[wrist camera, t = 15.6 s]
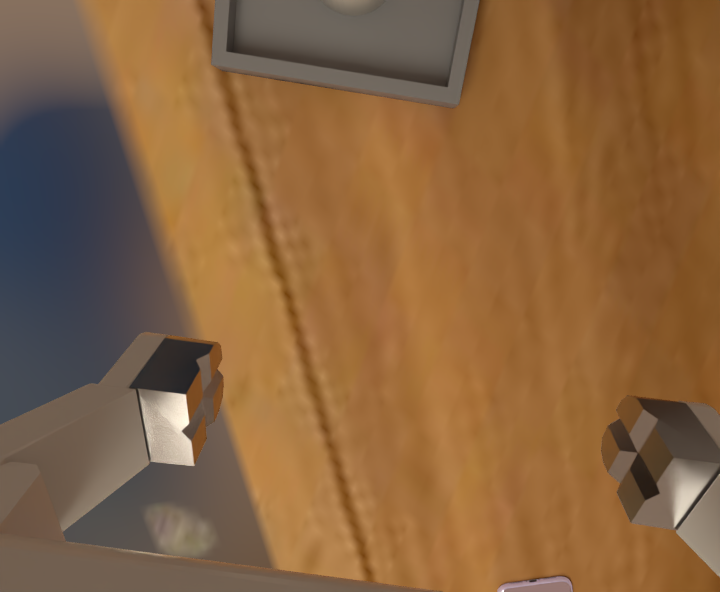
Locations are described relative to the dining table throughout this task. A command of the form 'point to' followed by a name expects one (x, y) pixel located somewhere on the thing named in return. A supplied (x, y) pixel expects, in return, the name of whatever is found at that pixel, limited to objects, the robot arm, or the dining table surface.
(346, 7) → the cream capsule shape
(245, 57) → the serving tray
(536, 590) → the mobile phone
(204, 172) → the dining table surface
